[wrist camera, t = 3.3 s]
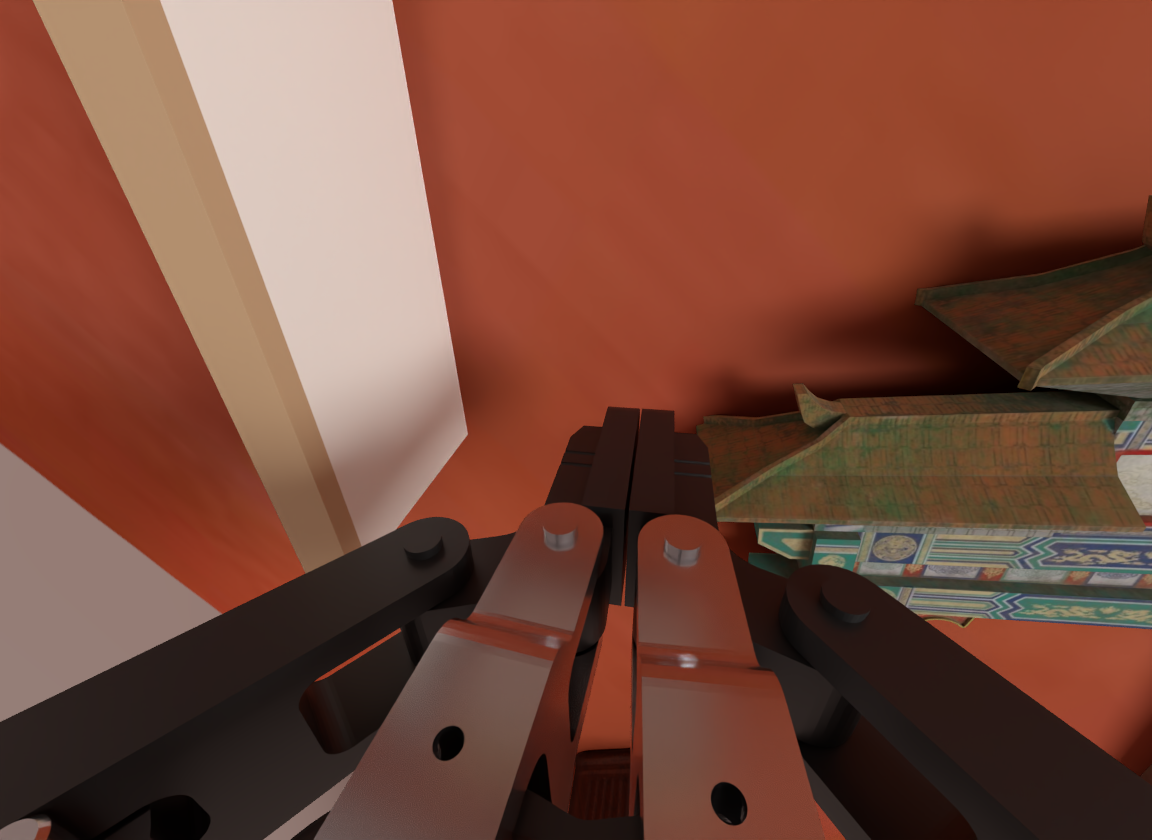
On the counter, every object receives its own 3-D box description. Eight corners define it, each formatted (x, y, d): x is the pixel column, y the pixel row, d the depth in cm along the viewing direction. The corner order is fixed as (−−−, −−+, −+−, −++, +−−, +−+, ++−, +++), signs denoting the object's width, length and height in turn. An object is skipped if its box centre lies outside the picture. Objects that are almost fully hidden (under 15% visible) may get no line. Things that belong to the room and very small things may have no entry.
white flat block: (309, -140, 11) (-256, -606, 4) (366, -149, 10) (-145, -666, 4) (434, 431, 19) (306, 575, 12) (467, 434, 18) (355, 582, 12)
